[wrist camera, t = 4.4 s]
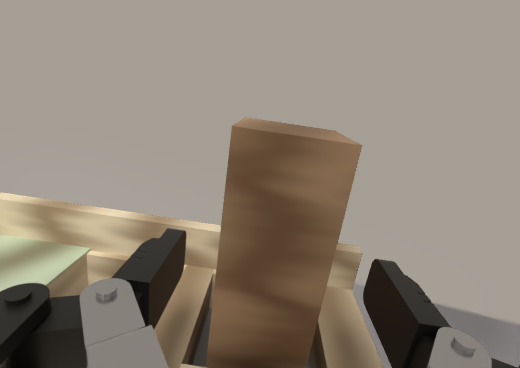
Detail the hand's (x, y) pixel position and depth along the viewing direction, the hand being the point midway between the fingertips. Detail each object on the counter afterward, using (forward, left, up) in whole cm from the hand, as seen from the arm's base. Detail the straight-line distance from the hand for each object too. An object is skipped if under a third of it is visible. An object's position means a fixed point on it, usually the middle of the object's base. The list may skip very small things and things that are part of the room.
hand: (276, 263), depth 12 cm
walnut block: (0, -3, -9) cm, 9 cm away
